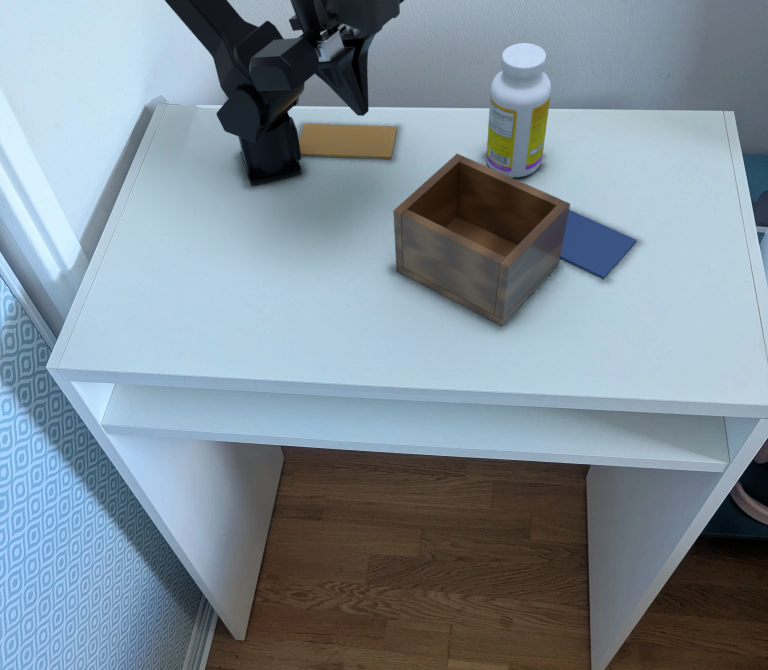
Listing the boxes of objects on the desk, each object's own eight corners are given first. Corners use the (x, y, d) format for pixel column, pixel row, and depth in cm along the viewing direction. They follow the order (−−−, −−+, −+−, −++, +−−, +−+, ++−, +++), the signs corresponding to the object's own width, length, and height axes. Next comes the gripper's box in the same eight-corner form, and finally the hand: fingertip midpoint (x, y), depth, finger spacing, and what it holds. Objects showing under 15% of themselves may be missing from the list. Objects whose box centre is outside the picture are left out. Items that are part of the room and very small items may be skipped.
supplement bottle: (538, 143, 93) (553, 35, 82) (543, 179, 90) (559, 71, 79) (484, 146, 94) (491, 38, 82) (487, 181, 90) (495, 74, 79)
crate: (396, 270, 84) (393, 210, 77) (454, 215, 88) (456, 153, 81) (501, 326, 79) (508, 267, 72) (558, 265, 83) (570, 203, 76)
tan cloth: (295, 155, 95) (295, 153, 94) (304, 125, 98) (304, 123, 97) (391, 159, 93) (390, 156, 93) (397, 128, 96) (397, 126, 96)
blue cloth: (510, 234, 86) (510, 232, 85) (544, 200, 88) (544, 198, 88) (603, 279, 82) (604, 276, 81) (636, 241, 84) (637, 239, 84)
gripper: (292, -17, 60) (361, 167, 72) (430, -119, 67) (474, 64, 78) (211, -3, 67) (286, 162, 78) (343, -97, 74) (395, 68, 85)
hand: (363, 113), depth 80 cm, fingers closed
